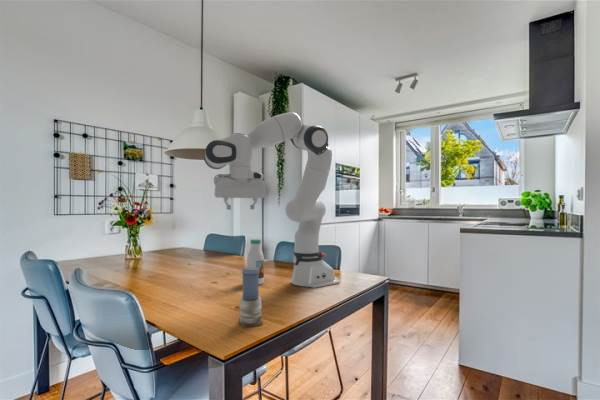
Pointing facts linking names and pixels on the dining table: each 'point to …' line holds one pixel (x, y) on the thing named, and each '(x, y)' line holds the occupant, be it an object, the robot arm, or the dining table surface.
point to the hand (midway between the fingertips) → (240, 209)
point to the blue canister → (250, 283)
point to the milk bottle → (256, 258)
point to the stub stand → (250, 313)
